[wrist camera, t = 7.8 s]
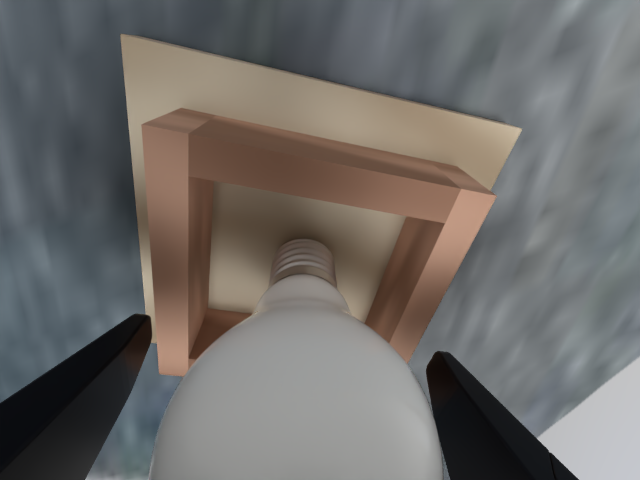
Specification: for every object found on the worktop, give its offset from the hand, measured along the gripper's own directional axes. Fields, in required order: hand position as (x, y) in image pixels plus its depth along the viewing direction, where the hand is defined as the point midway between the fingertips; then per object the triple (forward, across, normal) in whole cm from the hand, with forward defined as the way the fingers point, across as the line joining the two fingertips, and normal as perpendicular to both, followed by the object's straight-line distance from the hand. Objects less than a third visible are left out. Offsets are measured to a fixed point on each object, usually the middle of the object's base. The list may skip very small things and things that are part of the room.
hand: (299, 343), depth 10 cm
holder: (+6, 0, 0) cm, 6 cm away
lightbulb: (+5, 0, 0) cm, 5 cm away
